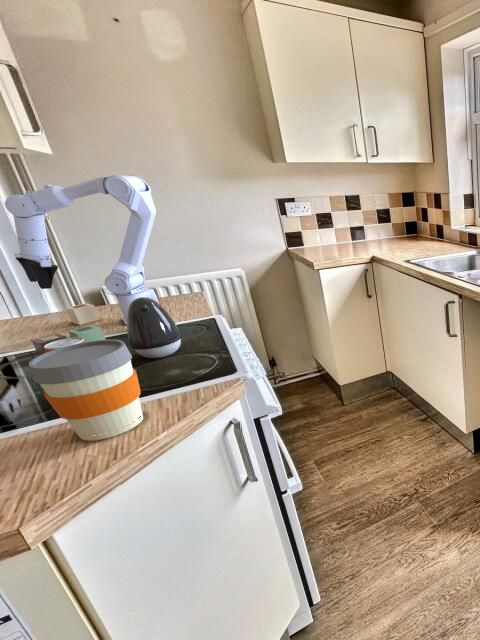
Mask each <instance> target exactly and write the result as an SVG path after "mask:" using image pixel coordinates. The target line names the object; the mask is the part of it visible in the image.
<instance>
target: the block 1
mask: <svg viewBox="0 0 480 640" xmlns="http://www.w3.org/2000/svg"><path fill="white" fill-rule="evenodd" d="M66 338H68V337H67V335H64V334H61V333H54V334H50V335H47V336H46V335H45V336H43V337H39V338H35V339H31V343H32V345H33V347H34V349H35V351H36V354H37V355H38V356H40V355H42V354H44V352H45V348H44V346H45V345H46V344H48V343H51V342H54V341H57V340H61V339H66Z"/></svg>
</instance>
